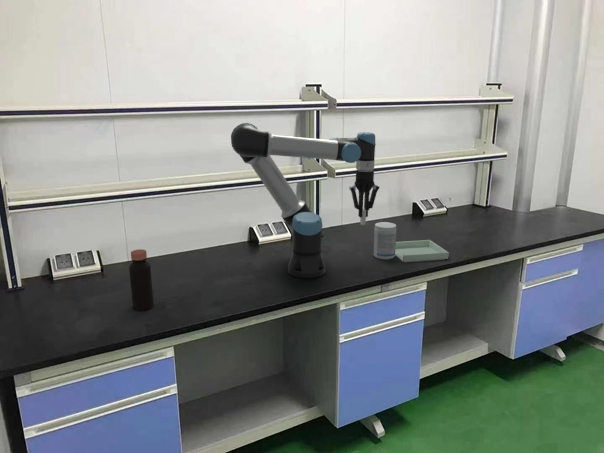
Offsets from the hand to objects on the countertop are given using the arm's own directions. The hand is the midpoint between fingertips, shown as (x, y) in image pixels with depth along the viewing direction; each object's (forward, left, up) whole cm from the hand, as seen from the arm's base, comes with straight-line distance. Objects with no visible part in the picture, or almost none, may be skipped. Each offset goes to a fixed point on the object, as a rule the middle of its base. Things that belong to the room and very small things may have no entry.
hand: (362, 224), depth 212 cm
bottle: (-89, -32, -16) cm, 96 cm away
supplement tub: (+11, 0, -16) cm, 19 cm away
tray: (+27, 0, -15) cm, 31 cm away
